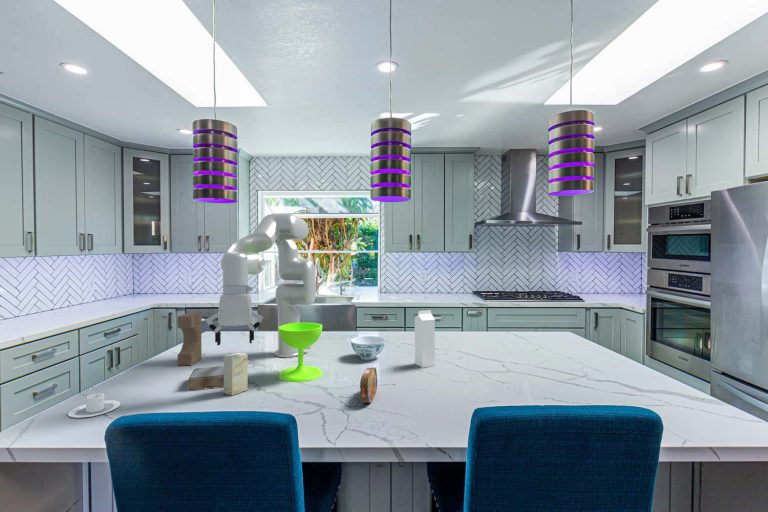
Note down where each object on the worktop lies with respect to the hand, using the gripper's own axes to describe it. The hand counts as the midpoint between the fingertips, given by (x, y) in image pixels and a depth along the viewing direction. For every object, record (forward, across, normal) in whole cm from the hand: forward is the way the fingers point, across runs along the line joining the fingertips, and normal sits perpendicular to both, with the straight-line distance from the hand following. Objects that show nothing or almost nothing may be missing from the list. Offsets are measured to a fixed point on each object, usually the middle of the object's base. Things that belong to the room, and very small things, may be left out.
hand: (234, 343), depth 123 cm
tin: (+16, -40, +17) cm, 47 cm away
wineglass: (+16, -22, -12) cm, 30 cm away
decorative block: (+16, +20, -43) cm, 50 cm away
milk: (+15, -71, -9) cm, 73 cm away
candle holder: (+17, +38, +1) cm, 41 cm away
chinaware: (+15, -52, -26) cm, 60 cm away
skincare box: (+16, 0, -1) cm, 16 cm away
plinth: (+16, +9, -13) cm, 22 cm away
